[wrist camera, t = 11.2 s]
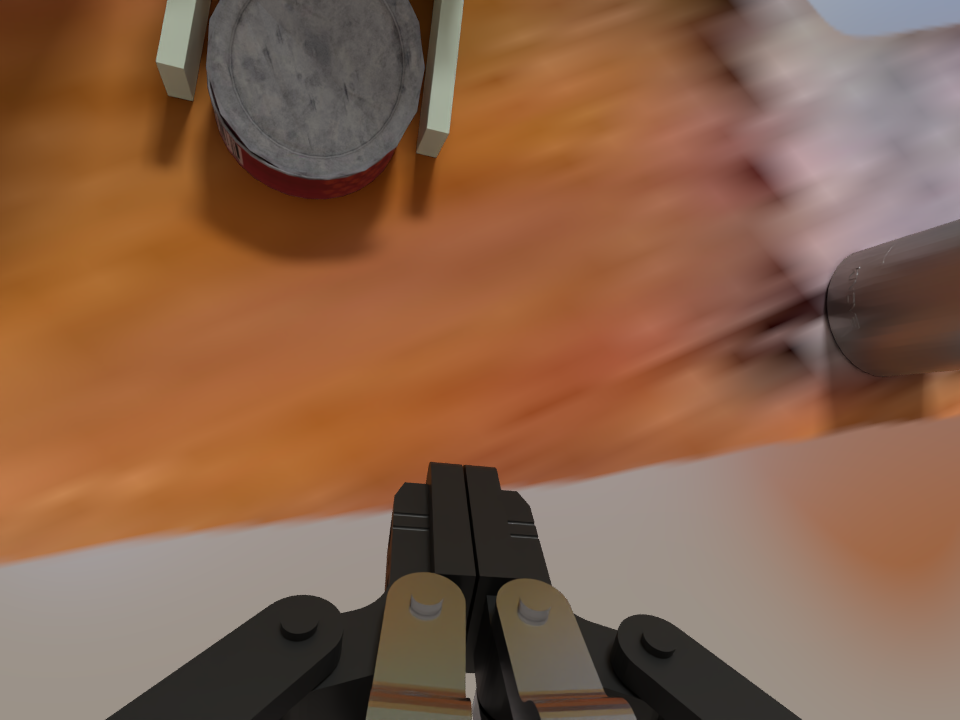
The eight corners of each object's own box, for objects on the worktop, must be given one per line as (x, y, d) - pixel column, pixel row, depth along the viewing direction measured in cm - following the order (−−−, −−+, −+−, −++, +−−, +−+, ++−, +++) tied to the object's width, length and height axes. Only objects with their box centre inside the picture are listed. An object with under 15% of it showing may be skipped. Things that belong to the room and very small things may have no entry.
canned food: (390, 150, 40) (487, 141, 32) (260, 229, 36) (334, 240, 28) (300, -44, 34) (391, -112, 26) (132, 24, 30) (182, -33, 22)
